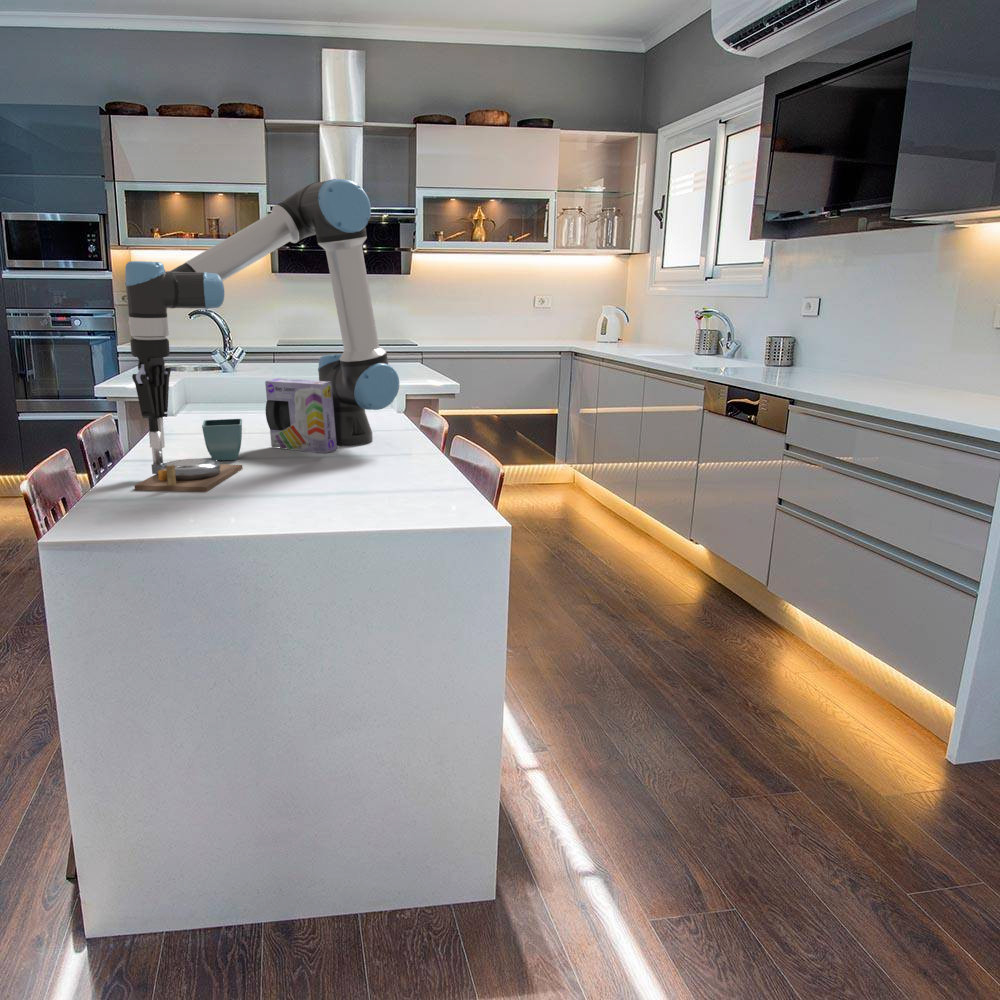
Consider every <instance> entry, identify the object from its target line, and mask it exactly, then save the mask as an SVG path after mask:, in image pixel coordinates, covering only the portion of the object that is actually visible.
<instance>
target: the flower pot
mask: <svg viewBox="0 0 1000 1000" xmlns="http://www.w3.org/2000/svg"><path fill="white" fill-rule="evenodd" d="M201 429H202V433H203V437H204V444H205V447H206V449H207V452H208V454H209V455H210V457H211V459H212V460H222V461H235V460H237V458H238V457H239V454H240V452H241V447H242V437H243V436H242V435H243V419H242V418H226V419H225V418H223V419H222V418H221V419H220V418H219V419H205V420H203V422H202V425H201Z"/></svg>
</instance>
